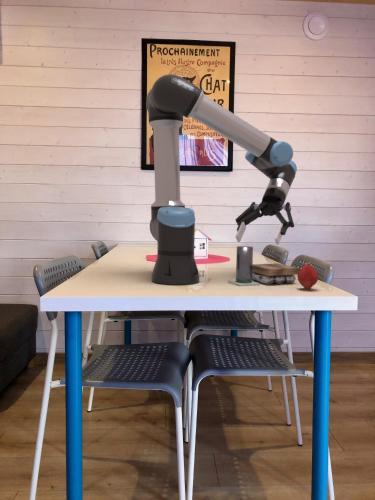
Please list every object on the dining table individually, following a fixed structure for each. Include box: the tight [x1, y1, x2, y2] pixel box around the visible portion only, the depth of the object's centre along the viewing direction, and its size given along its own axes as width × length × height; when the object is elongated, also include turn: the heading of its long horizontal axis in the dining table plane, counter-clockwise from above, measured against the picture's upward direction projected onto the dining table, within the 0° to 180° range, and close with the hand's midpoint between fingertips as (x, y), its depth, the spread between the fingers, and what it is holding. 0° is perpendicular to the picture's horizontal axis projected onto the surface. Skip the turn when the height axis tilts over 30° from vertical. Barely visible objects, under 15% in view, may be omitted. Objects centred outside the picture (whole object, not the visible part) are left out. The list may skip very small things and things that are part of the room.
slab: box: [252, 262, 300, 276], centre depth 146 cm, size 11×12×2 cm
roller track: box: [252, 272, 296, 286], centre depth 146 cm, size 11×9×3 cm
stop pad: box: [228, 280, 261, 287], centre depth 142 cm, size 7×7×1 cm
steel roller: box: [235, 245, 254, 283], centre depth 141 cm, size 5×5×11 cm
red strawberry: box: [297, 262, 319, 291], centre depth 133 cm, size 6×6×8 cm
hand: (256, 240), depth 147 cm, fingers open, 13 cm apart
